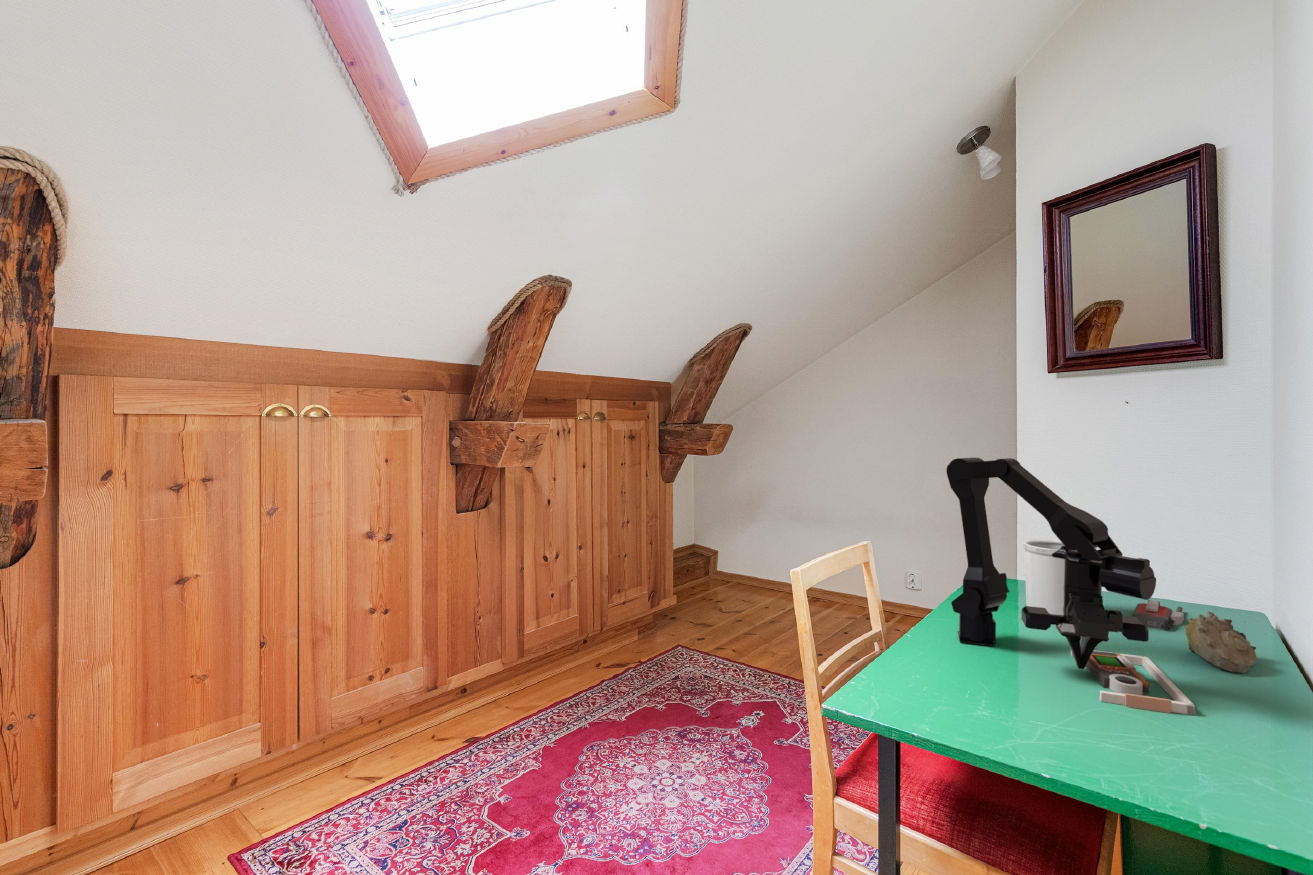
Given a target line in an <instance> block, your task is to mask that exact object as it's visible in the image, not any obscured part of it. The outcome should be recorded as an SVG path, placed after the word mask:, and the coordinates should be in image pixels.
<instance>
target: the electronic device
mask: <svg viewBox="0 0 1313 875" xmlns="http://www.w3.org/2000/svg"><path fill="white" fill-rule="evenodd" d="M1099 651H1100V650H1094V651H1093V652H1092V654H1091V656H1090V658H1089V660H1088V662H1087V664H1086V666H1085V668H1086V669H1087V670H1088V672H1089V673H1090V674H1091V675H1092V677H1093V678H1095V679H1094V680H1096V681H1097V682H1098V683H1099V684H1100V686H1102V688H1104V689H1109V690H1111V692H1115V693H1122V694H1125V693H1127V694H1134V695H1141V696H1143V694H1144V693H1145V694H1149V693H1150V684H1149V683H1148V681H1147V680H1145V678H1143V677H1142V675H1141V674H1139V672H1137V668H1136V667H1135V665H1134V664H1132V663H1131V662H1130V661H1129V660H1128V659H1127V658H1126V657H1125V656H1121V655H1120V654H1121V653H1118V652H1111V653H1109V652H1110V651H1102V652H1099Z"/></svg>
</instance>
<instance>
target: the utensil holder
mask: <svg viewBox="0 0 1313 875" xmlns="http://www.w3.org/2000/svg"><path fill="white" fill-rule="evenodd" d="M1062 546H1065V545H1064V544H1063V543H1062V542H1061V541H1060V540H1059V539H1052V538H1050V539H1049V538H1046V539H1045V538H1044V539H1043V538H1040V539H1039V538H1038V539H1028V540H1024V541H1023V548H1024V569H1025V572H1024V576H1025V602H1026V604H1025V606H1031V607H1041V608H1046V610H1047V611H1048V613H1049V614H1056V615H1063V607H1064V591H1063V590H1064V566H1065V559H1061V558H1056V557H1053V556H1052V553H1054V552H1056V551H1058V550H1059V549H1060V548H1061V547H1062ZM1095 549H1096V550H1098V549H1097V548H1095ZM1075 551H1076V550H1075ZM1069 622H1070V621H1069Z"/></svg>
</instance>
